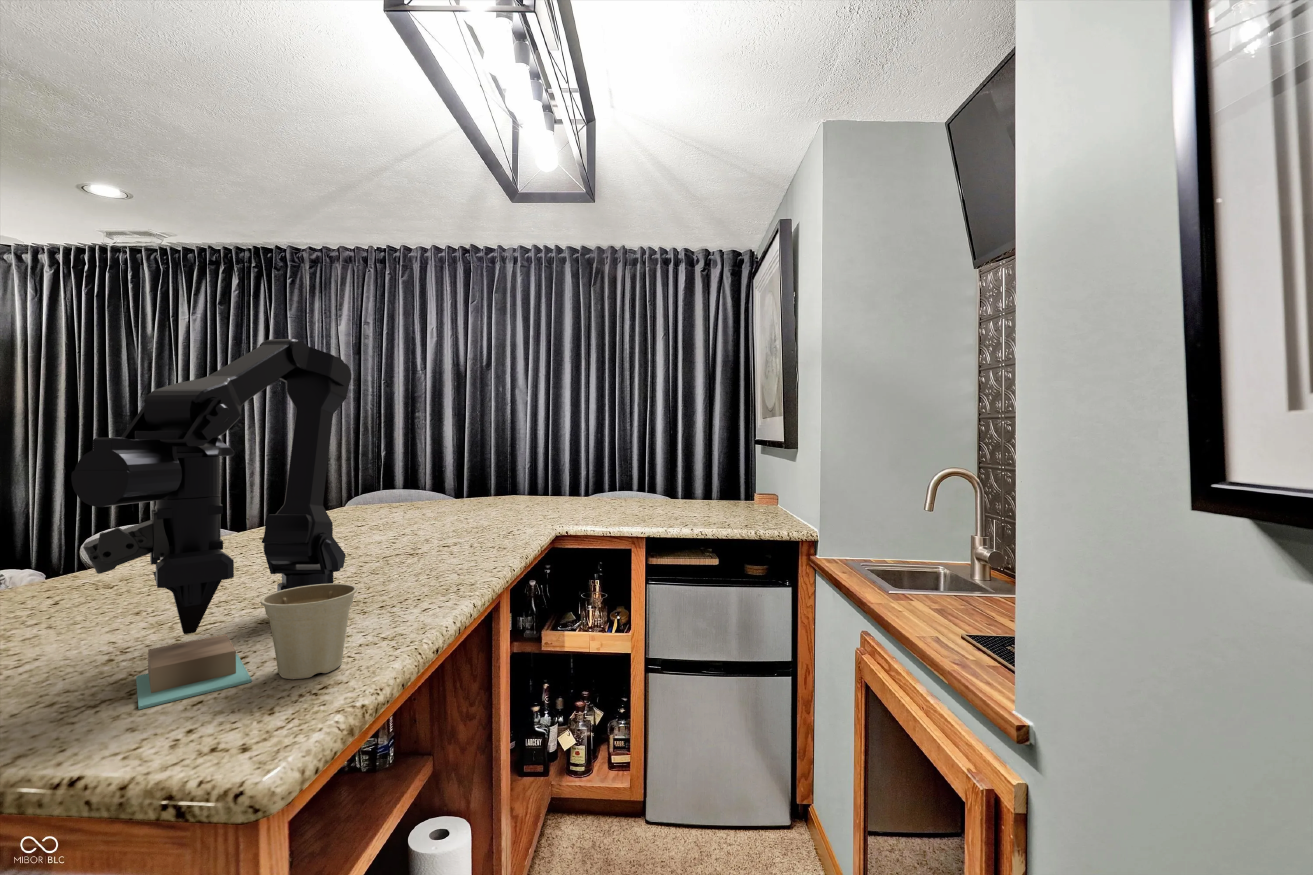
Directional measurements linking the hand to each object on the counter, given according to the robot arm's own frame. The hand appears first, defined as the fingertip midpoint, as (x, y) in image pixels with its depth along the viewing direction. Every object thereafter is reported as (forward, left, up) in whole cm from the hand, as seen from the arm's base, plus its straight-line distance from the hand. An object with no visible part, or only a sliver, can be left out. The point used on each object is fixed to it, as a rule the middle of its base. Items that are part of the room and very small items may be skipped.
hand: (189, 632), depth 65 cm
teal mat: (0, +5, -4) cm, 6 cm away
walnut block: (0, -1, -2) cm, 3 cm away
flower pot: (-10, +10, -4) cm, 15 cm away
